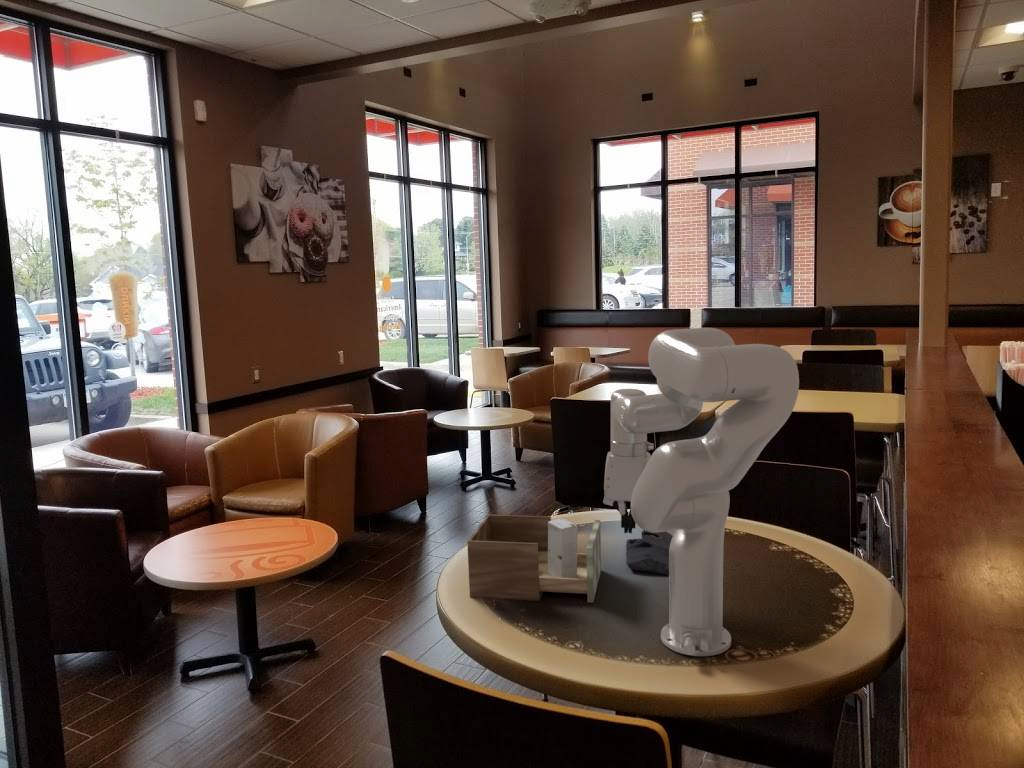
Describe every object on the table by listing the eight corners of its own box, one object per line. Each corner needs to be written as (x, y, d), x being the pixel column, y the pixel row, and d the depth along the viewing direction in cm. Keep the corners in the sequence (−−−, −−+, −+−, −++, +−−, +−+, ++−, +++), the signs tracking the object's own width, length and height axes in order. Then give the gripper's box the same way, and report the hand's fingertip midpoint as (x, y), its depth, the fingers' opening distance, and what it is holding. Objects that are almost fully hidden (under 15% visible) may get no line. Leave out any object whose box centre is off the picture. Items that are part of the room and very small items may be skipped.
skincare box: (547, 573, 168) (545, 521, 166) (564, 569, 170) (562, 517, 168) (561, 583, 163) (560, 528, 161) (579, 578, 165) (578, 524, 163)
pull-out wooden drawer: (593, 602, 157) (592, 548, 155) (521, 598, 160) (520, 545, 158) (601, 569, 174) (600, 519, 172) (536, 566, 177) (535, 517, 175)
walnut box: (539, 600, 159) (537, 544, 157) (469, 596, 162) (467, 541, 160) (552, 568, 176) (550, 516, 175) (489, 565, 179) (487, 514, 178)
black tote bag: (616, 574, 172) (616, 554, 172) (628, 541, 193) (628, 523, 193) (685, 579, 168) (685, 559, 168) (690, 545, 189) (690, 526, 189)
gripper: (665, 444, 162) (664, 526, 165) (594, 442, 165) (595, 523, 168) (664, 453, 154) (663, 539, 158) (591, 451, 157) (591, 535, 161)
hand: (628, 530), depth 163 cm, fingers closed
